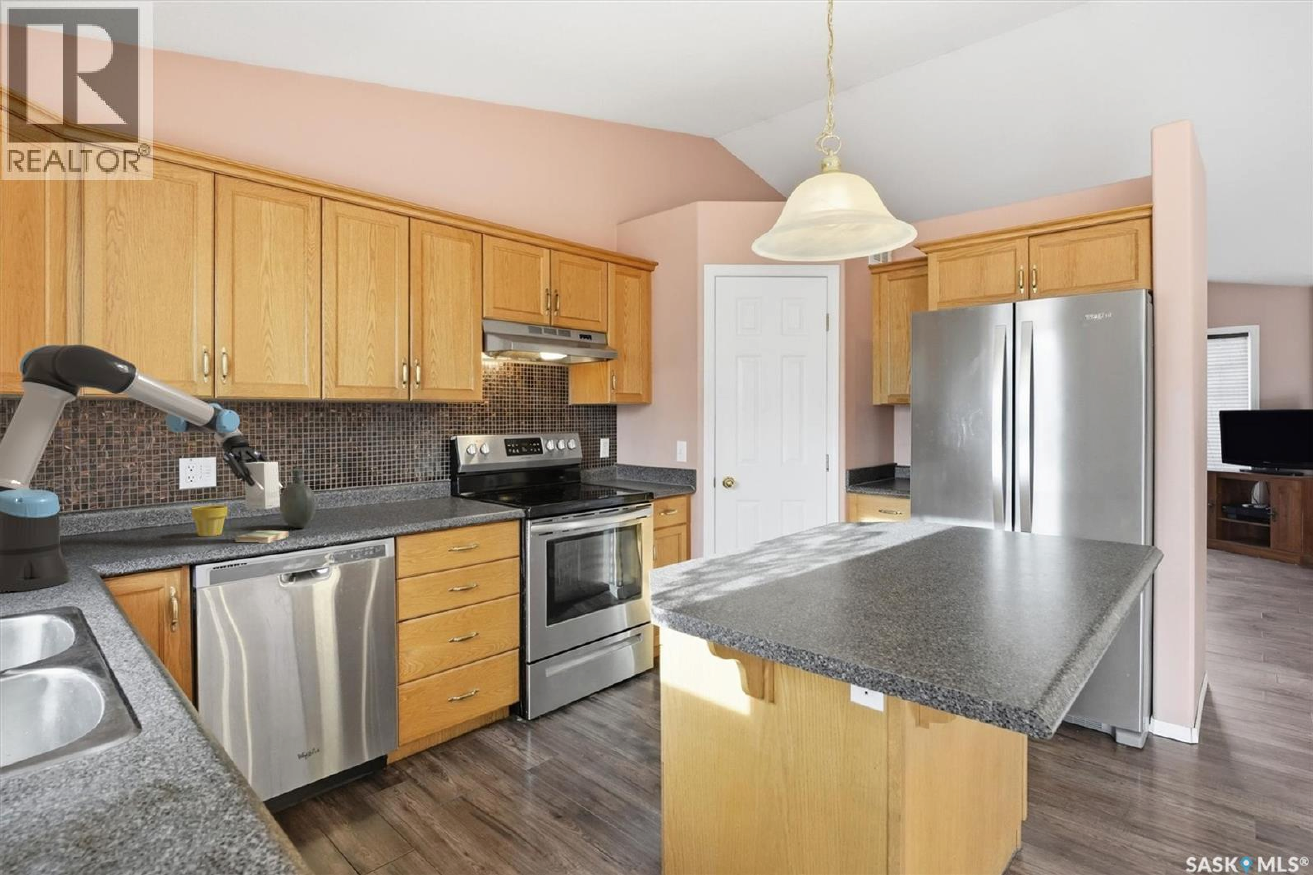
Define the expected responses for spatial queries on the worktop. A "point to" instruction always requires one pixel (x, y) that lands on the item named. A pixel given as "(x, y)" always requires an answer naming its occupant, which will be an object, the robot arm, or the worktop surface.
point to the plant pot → (209, 519)
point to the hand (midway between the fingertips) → (270, 490)
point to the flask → (297, 502)
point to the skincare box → (270, 483)
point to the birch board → (262, 536)
